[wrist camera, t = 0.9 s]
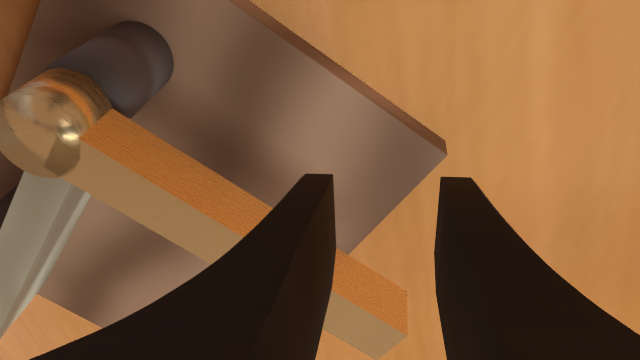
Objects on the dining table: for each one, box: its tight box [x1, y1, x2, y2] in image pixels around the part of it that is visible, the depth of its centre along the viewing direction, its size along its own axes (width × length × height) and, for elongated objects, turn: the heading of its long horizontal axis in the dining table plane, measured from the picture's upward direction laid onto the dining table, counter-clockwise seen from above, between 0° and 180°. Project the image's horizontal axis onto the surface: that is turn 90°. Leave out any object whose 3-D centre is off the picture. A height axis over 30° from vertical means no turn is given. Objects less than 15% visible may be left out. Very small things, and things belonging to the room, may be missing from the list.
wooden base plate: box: [0, 0, 447, 338], centre depth 22 cm, size 16×20×8 cm
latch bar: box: [0, 68, 407, 360], centre depth 16 cm, size 14×3×2 cm, turn 56°
